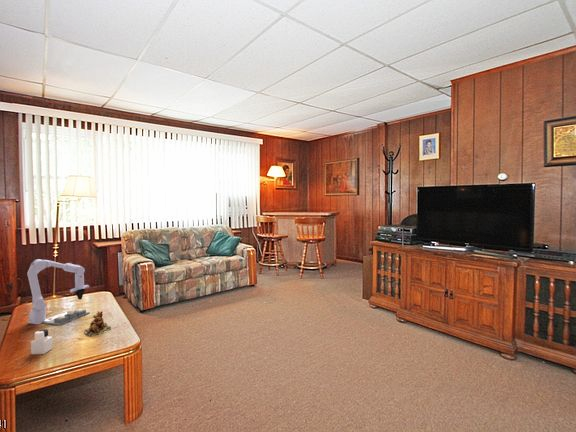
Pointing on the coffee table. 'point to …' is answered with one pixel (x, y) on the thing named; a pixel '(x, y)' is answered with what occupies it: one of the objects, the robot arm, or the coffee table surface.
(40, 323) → the robot arm
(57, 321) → the console
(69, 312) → the button middle
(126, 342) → the coffee table surface
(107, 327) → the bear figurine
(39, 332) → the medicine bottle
